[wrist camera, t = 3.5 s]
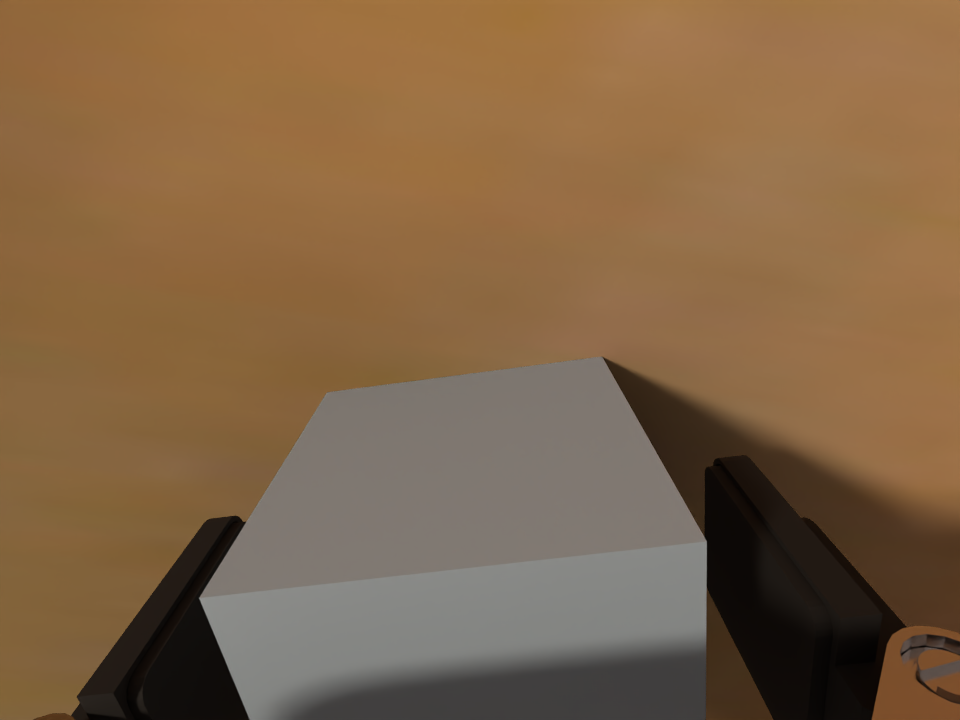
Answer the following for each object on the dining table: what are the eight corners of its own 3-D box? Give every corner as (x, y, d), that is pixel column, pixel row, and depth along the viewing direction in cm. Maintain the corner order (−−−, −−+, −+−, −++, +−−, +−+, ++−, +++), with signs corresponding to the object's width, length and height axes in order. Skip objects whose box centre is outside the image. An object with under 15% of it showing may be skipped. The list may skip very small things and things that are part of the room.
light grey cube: (601, 355, 12) (706, 541, 6) (616, 575, 14) (704, 859, 8) (327, 390, 12) (199, 598, 7) (383, 600, 14) (320, 890, 9)
